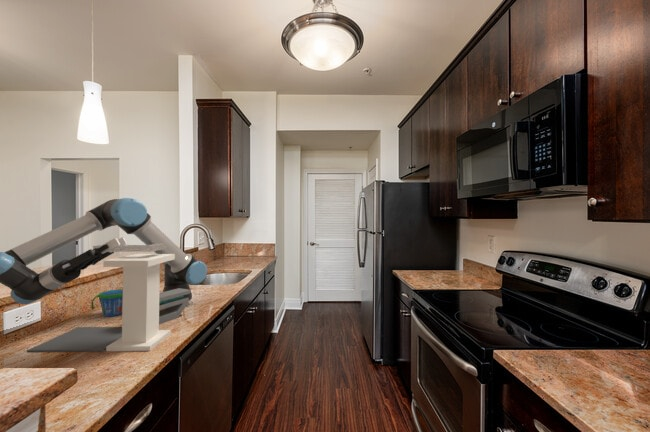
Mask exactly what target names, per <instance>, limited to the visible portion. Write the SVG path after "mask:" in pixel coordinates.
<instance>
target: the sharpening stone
mask: <svg viewBox="0 0 650 432" xmlns="http://www.w3.org/2000/svg"><path fill="white" fill-rule="evenodd" d="M190 293H192V290H191V289H190V290H188V289H181V288H178V289H174V290H169V291H165V292H163V291H161V292H159V310H162V309H165V308H166V309H165V310H162V311H159V325H162V324H164V323H167V322H170V321H174V320H177V319H178V318H179V316H180V315H181V314H182V312H183V311H184V310H185V308H186V307H187V306H188V304H189V303H190V300H189V298H187V297H184V295H187V294H190Z"/></svg>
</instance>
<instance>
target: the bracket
mask: <svg viewBox="0 0 650 432" xmlns="http://www.w3.org/2000/svg"><path fill="white" fill-rule="evenodd" d="M99 246H101V244H99V245H92V250H93V249H94V248H98V247H99ZM163 249H167V243H158V244H152V245H146V244H142V245H141V244H135V245H134V244H130V245H129V244H126V245H118V246H117V247H115V248H113V249H111V250H109V251H108V252H114V253H117V252H118V253H120V252H121V253H124V252H125V253H133V252H134V253H135V252H136V253H139V252H140V253H141V252H144V253H145V252H146V253H150V252H151V253H152V252H154V251H158V250H163Z"/></svg>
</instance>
